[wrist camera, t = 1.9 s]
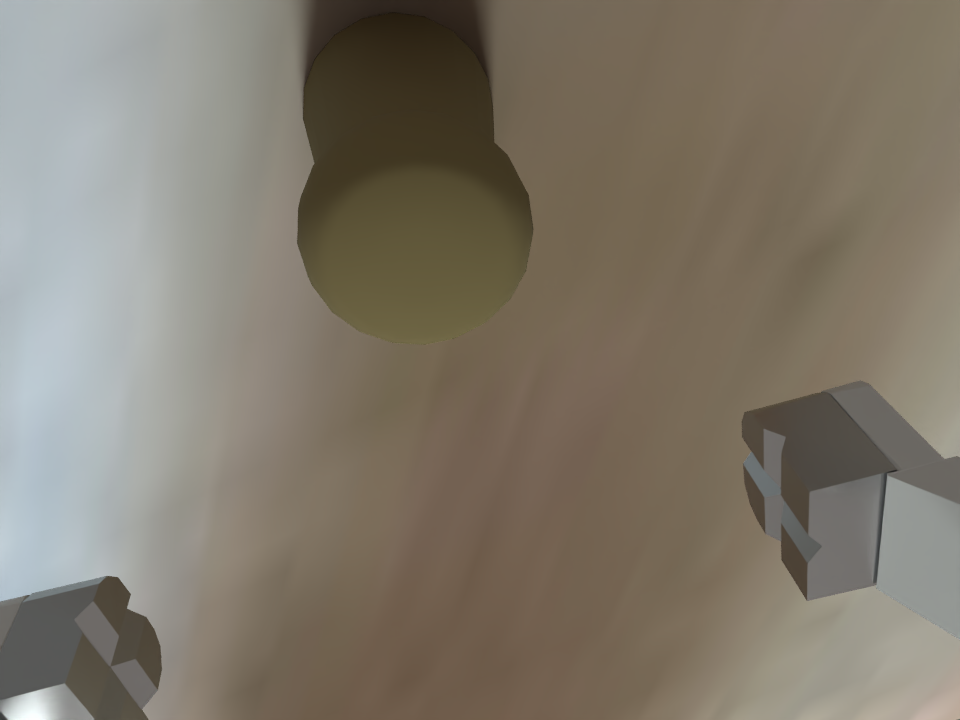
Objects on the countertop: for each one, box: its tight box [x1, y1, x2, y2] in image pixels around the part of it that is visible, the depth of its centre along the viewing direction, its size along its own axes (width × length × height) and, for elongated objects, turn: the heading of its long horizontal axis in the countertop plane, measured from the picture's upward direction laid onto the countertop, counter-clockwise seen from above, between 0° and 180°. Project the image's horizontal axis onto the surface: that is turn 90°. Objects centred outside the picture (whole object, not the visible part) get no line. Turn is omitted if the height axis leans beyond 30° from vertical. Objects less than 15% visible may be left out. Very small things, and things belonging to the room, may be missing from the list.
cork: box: [297, 12, 533, 345], centre depth 21 cm, size 6×6×11 cm
